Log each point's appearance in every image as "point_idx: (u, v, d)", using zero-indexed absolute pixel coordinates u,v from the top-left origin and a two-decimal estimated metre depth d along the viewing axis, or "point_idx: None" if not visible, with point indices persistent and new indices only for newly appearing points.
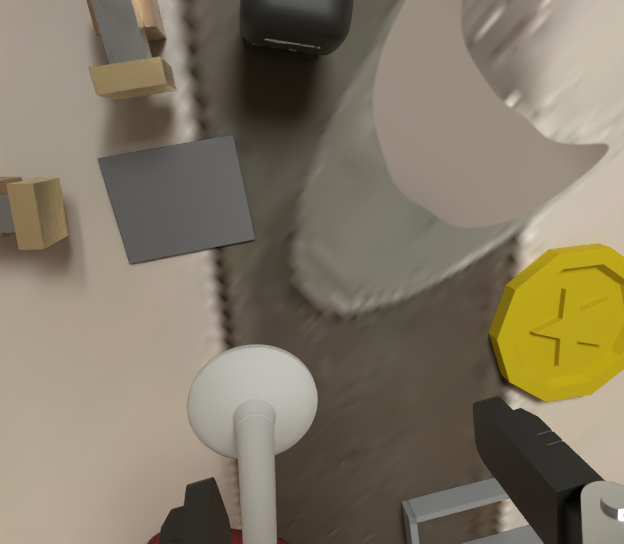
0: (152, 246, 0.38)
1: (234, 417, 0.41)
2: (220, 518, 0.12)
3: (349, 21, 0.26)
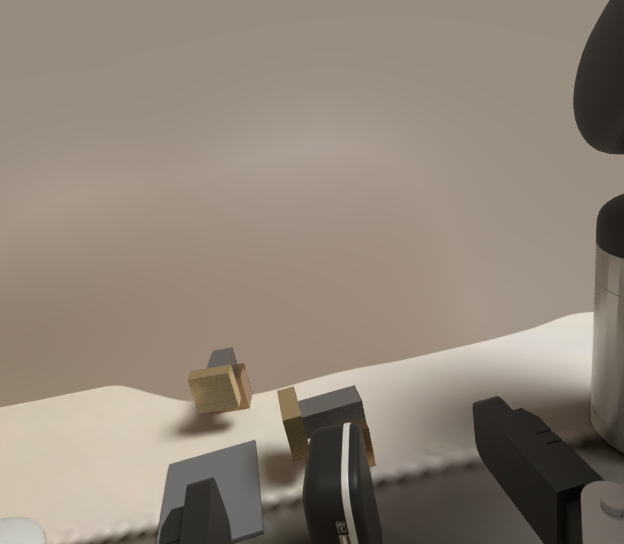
0: (178, 477, 0.44)
1: None
2: (220, 518, 0.12)
3: (319, 503, 0.26)
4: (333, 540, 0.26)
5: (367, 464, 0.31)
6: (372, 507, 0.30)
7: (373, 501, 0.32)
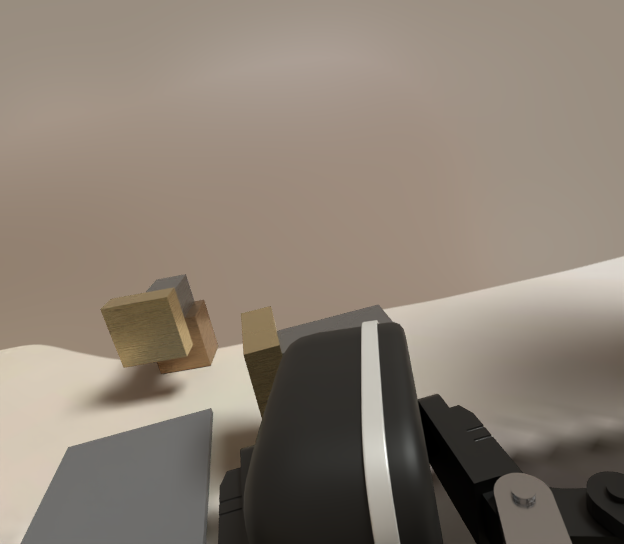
0: (74, 468, 0.26)
1: None
2: None
3: (291, 526, 0.08)
4: None
5: None
6: None
7: None
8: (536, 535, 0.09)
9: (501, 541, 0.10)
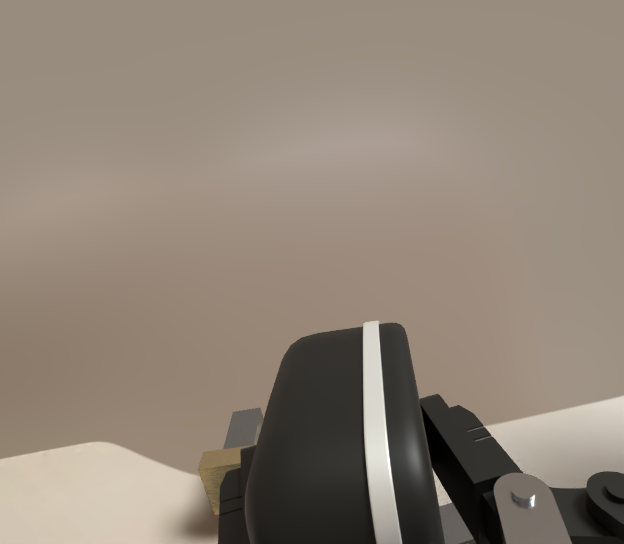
0: None
1: None
2: None
3: (293, 527, 0.08)
4: None
5: None
6: None
7: None
8: (536, 535, 0.09)
9: (501, 541, 0.10)
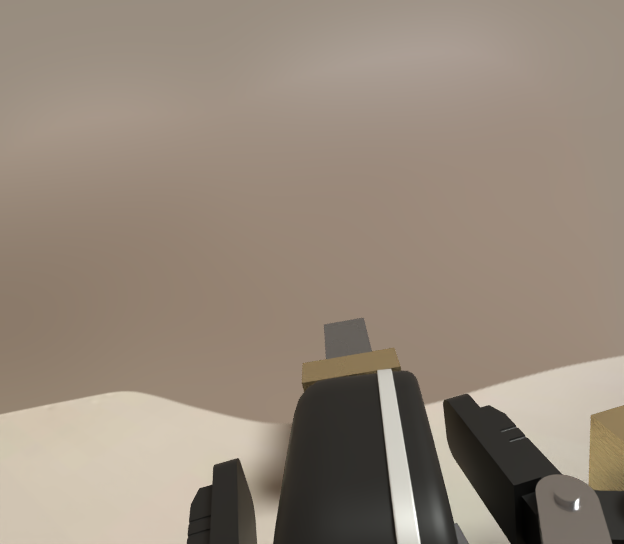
0: None
1: None
2: (246, 497, 0.13)
3: None
4: None
5: None
6: None
7: None
8: (576, 538, 0.09)
9: None
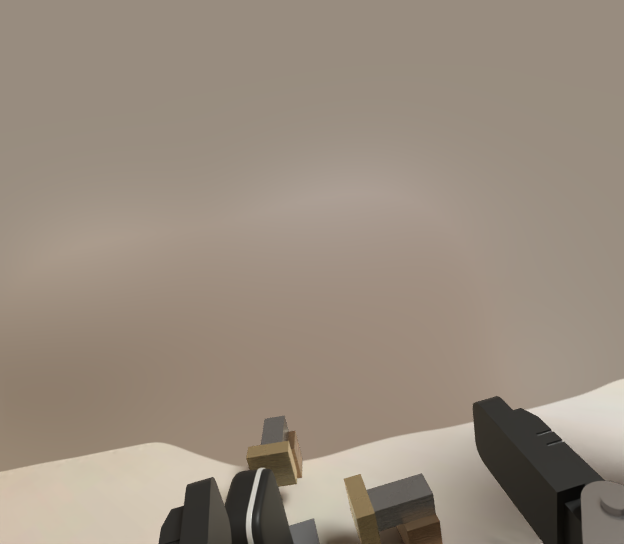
0: None
1: None
2: (220, 518, 0.12)
3: None
4: None
5: (278, 500, 0.40)
6: (280, 534, 0.39)
7: (284, 528, 0.40)
8: None
9: None
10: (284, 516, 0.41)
